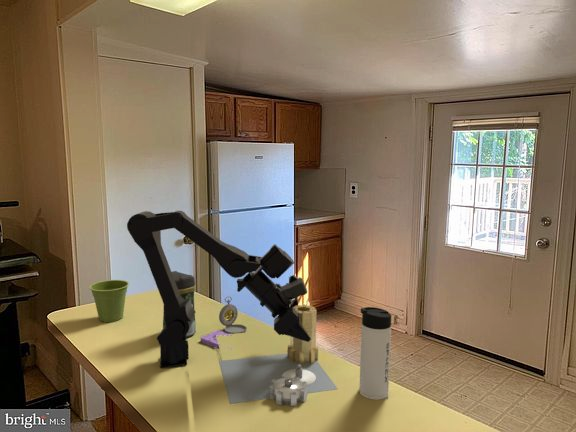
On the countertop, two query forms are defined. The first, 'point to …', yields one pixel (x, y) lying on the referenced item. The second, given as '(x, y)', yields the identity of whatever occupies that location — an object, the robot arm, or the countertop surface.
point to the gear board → (269, 376)
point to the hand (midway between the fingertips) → (308, 333)
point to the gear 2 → (288, 391)
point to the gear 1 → (299, 348)
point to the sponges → (213, 338)
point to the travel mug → (375, 353)
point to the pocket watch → (230, 319)
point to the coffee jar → (185, 294)
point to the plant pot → (110, 299)
